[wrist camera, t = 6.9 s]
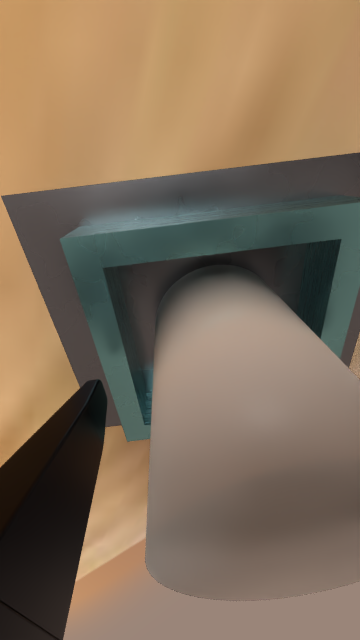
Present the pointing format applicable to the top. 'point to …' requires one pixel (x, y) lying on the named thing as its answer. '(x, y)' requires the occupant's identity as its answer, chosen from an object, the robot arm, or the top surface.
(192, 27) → the top surface
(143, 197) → the teal-collared square flange
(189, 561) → the grey rounded block
